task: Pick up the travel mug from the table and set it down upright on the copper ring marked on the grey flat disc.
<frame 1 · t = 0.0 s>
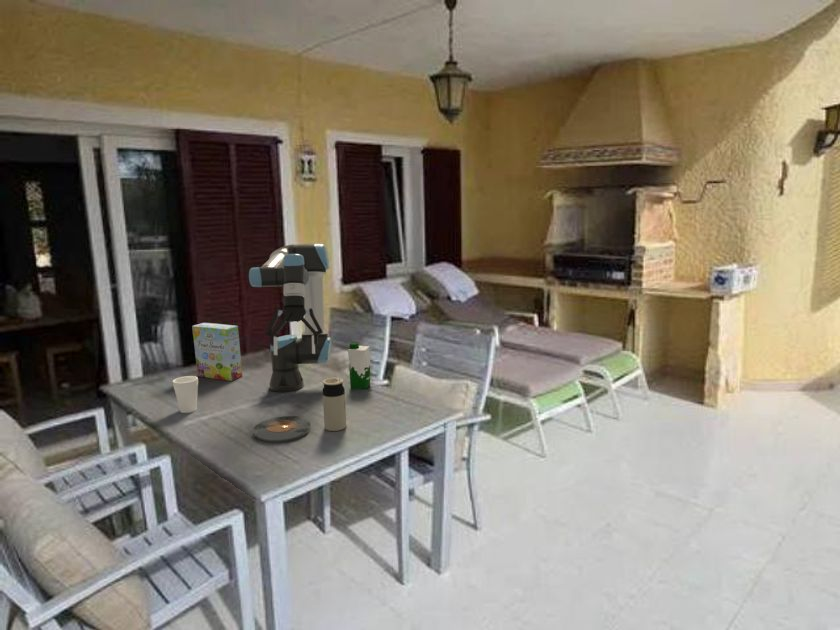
hand: (294, 354, 202), 28 cm above the table, tool tilted 20°, fingers open, 13 cm apart
grey flat disc: (282, 431, 204), on the table
travel mug: (335, 427, 207), on the table
snack box: (219, 377, 273), on the table
soya milk: (360, 386, 253), on the table
foam cup: (188, 410, 228), on the table
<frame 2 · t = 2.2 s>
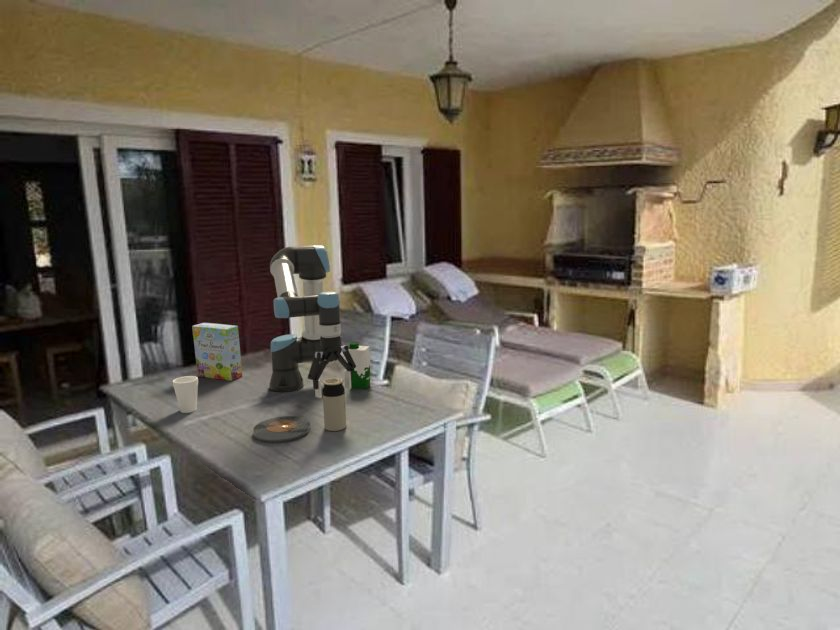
hand: (333, 392, 204), 14 cm above the table, tool pointing down, fingers open, 13 cm apart
nothing on the table moved.
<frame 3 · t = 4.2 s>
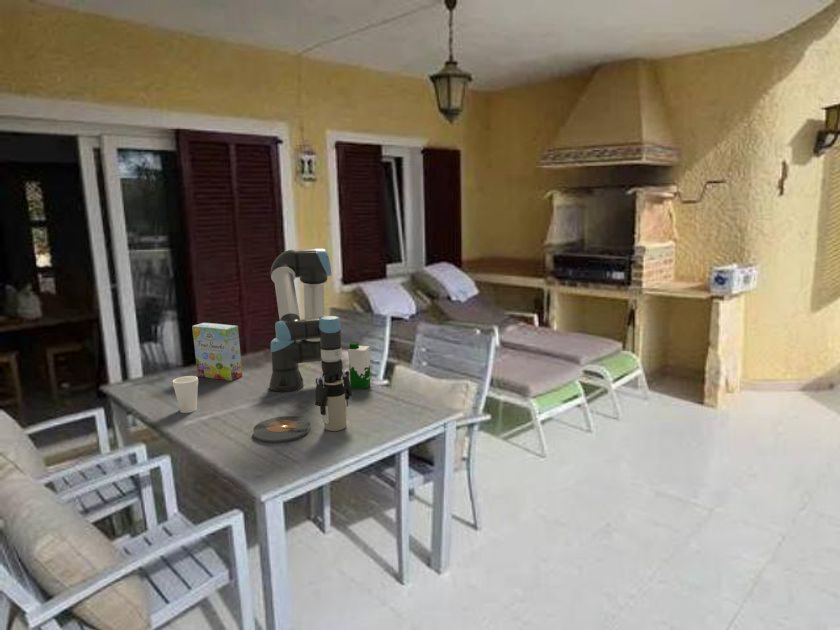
hand: (335, 419, 206), 3 cm above the table, tool pointing down, fingers closed on travel mug, 8 cm apart
travel mug: (335, 427, 207), on the table, touching gripper
everything else where it was.
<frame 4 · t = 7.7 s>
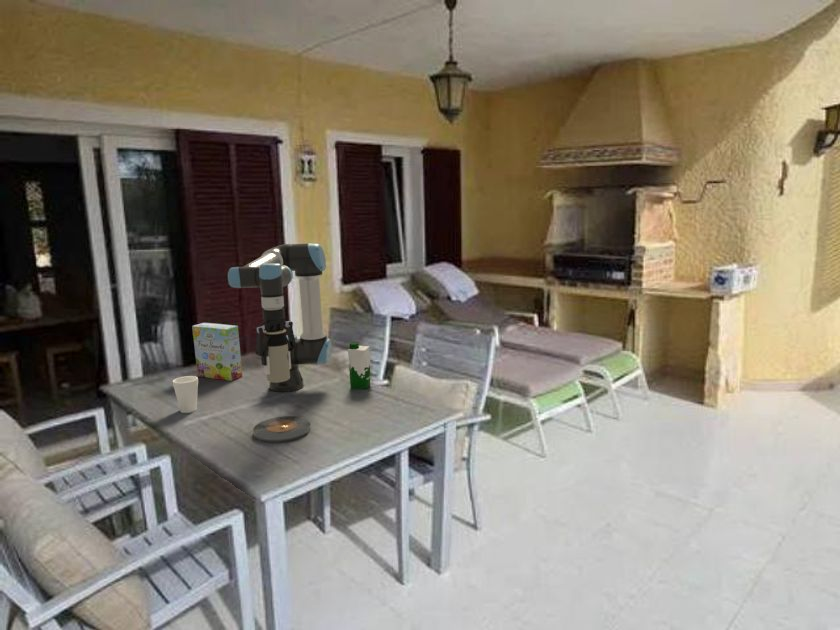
hand: (277, 370, 200), 23 cm above the table, tool pointing down, fingers closed on travel mug, 8 cm apart
travel mug: (278, 380, 200), point 20 cm above the table, touching gripper
everything else where it was.
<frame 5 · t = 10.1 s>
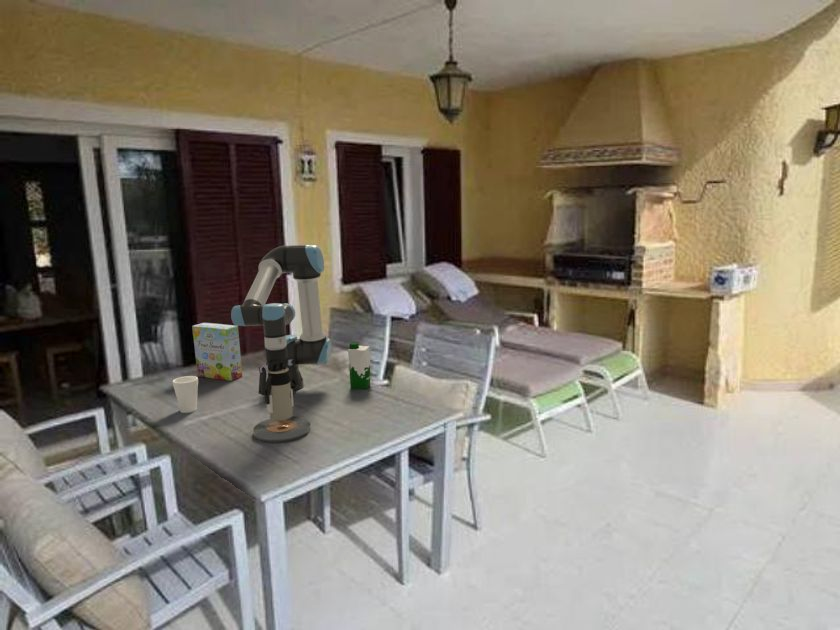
hand: (280, 408, 202), 9 cm above the table, tool pointing down, fingers closed on travel mug, 8 cm apart
travel mug: (281, 417, 203), point 5 cm above the table, touching gripper
everything else where it was.
when the fingers open (7 cm above the table, at t = 11.6 s): travel mug drops 2 cm, resting on grey flat disc.
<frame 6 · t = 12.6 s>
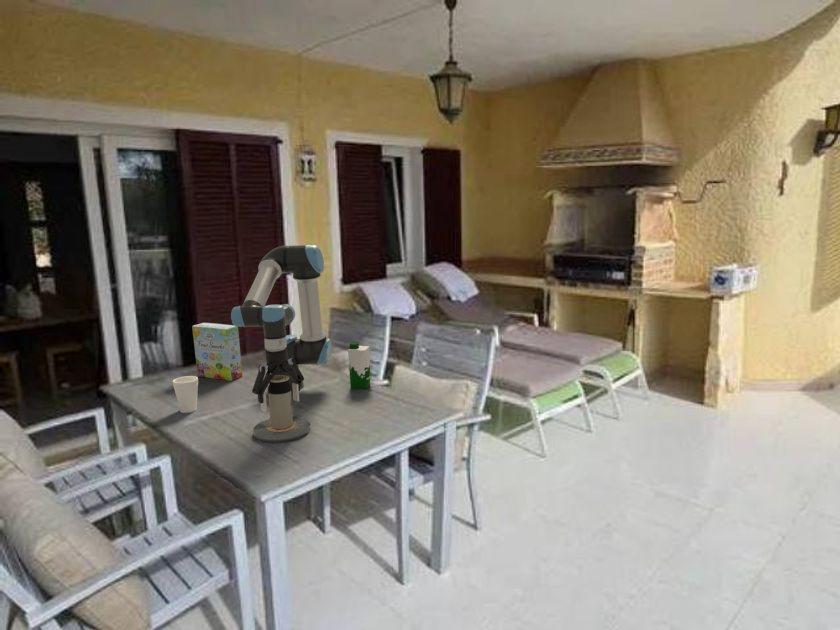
hand: (280, 405, 202), 10 cm above the table, tool pointing down, fingers open, 13 cm apart
travel mug: (282, 425, 204), point 2 cm above the table, touching grey flat disc
everything else where it was.
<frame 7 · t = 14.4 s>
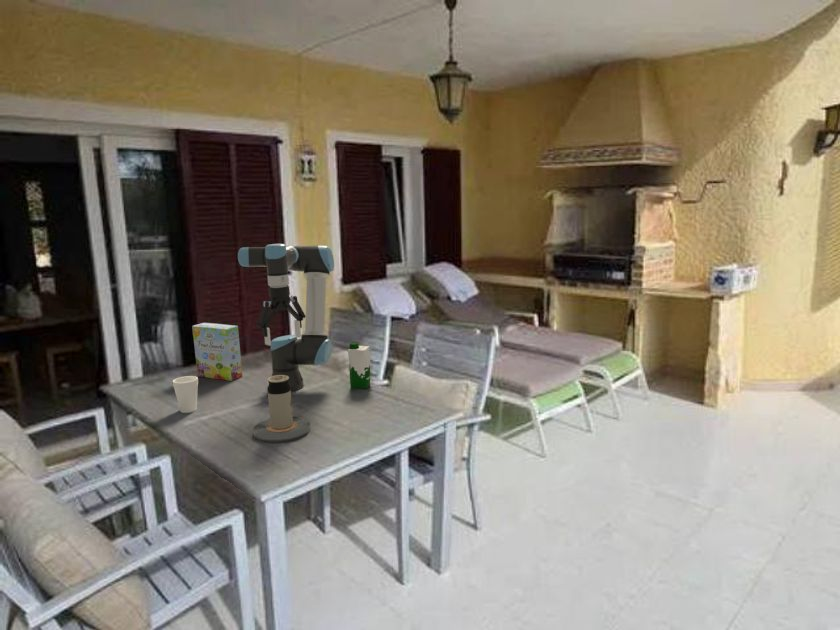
hand: (283, 340, 214), 30 cm above the table, tool pointing down, fingers open, 13 cm apart
nothing on the table moved.
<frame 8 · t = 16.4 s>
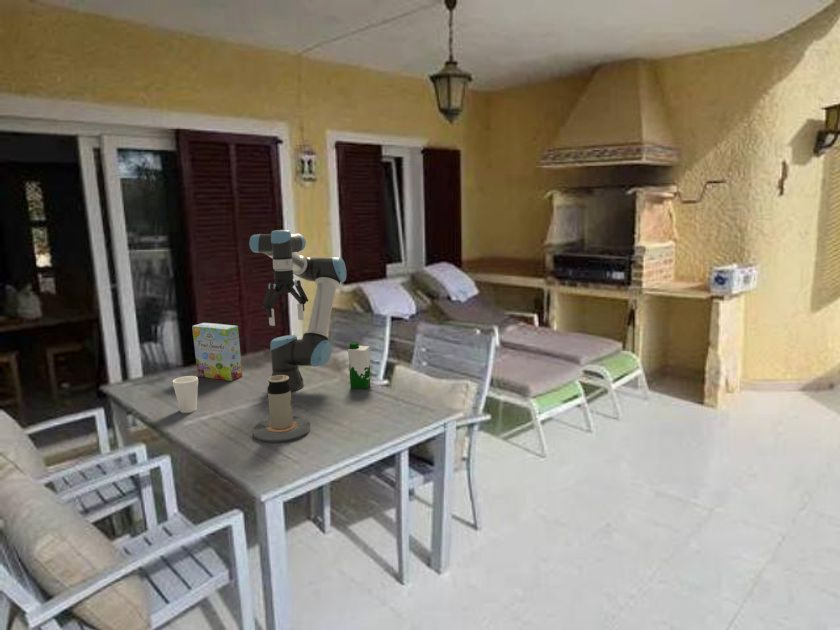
hand: (286, 322, 225), 35 cm above the table, tool pointing down, fingers open, 13 cm apart
nothing on the table moved.
at the end: travel mug 0.1 cm off-centre on the grey flat disc, point 2.1 cm above the grey flat disc's base; travel mug tilted 0°; the gripper is holding nothing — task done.
